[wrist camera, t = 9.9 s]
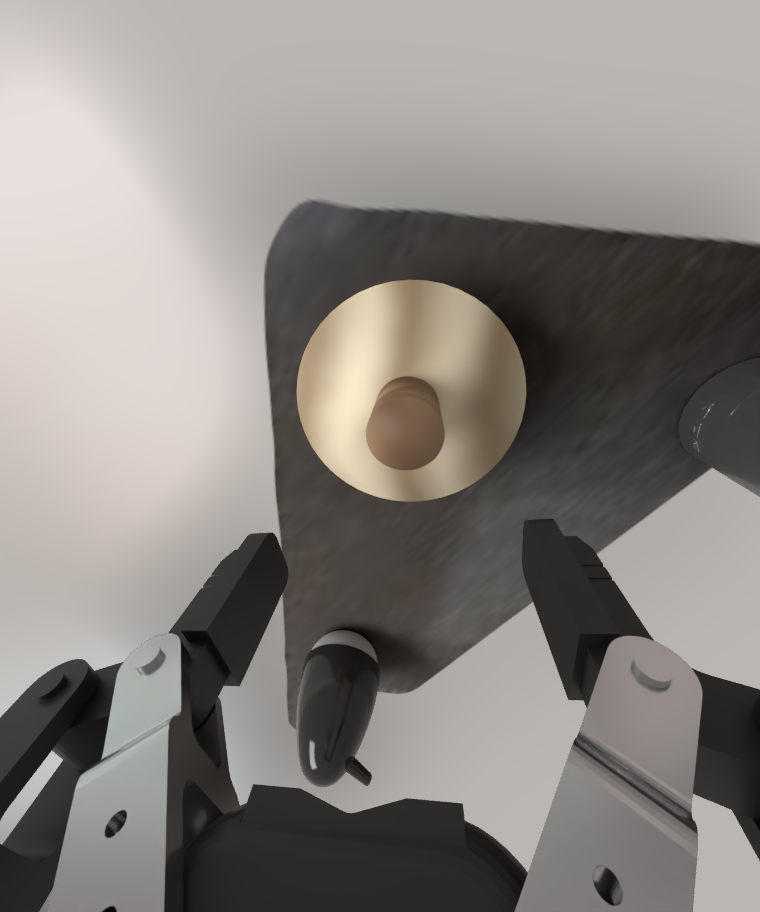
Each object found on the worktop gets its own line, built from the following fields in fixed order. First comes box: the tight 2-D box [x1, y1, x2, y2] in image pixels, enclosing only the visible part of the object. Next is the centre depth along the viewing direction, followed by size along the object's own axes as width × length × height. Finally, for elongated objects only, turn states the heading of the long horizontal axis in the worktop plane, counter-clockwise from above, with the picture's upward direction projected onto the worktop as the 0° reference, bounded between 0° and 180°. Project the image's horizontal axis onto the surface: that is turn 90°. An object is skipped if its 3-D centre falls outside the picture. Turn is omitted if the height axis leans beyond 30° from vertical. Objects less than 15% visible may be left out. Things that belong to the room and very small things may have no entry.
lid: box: [297, 280, 526, 501], centre depth 21 cm, size 16×16×6 cm
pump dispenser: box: [297, 630, 380, 787], centre depth 40 cm, size 10×10×15 cm
